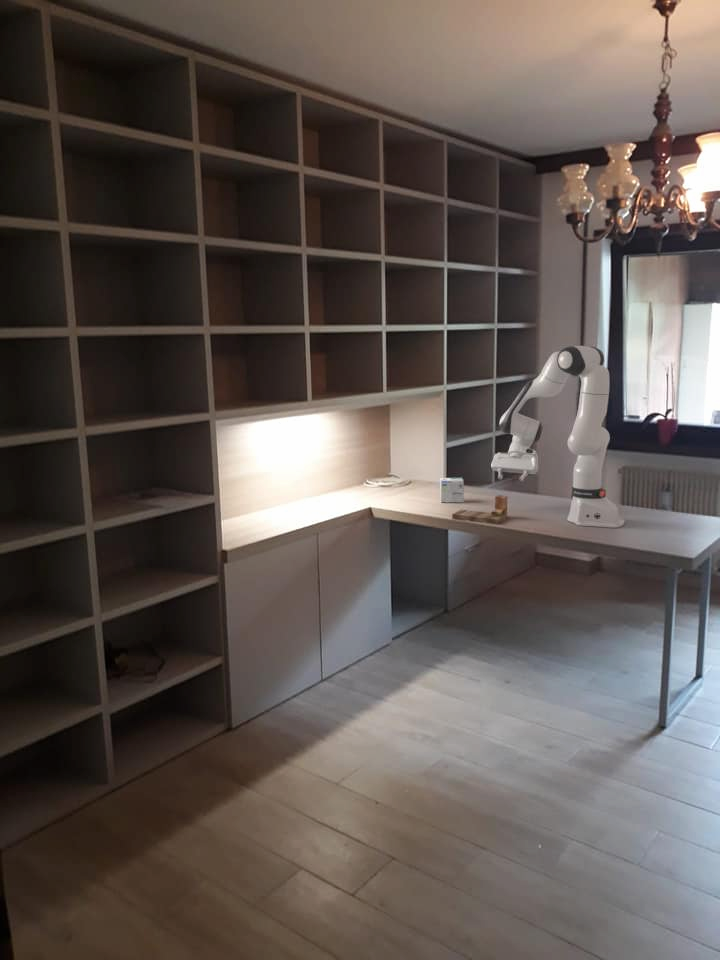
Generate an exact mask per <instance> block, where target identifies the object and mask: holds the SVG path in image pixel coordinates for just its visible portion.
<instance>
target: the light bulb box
mask: <svg viewBox="0 0 720 960" xmlns="http://www.w3.org/2000/svg"><path fill="white" fill-rule="evenodd" d="M464 485H465V483H464V479H463V477H440V478H439V497H440V498H439V501H441V502H440V504H443V503H442V502H463V503H464V490H465V488H464V487H465V486H464Z"/></svg>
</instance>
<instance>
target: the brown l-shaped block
mask: <svg viewBox="0 0 720 960" xmlns="http://www.w3.org/2000/svg"><path fill="white" fill-rule="evenodd" d="M494 498H495V499H494V502H495V503H494V509H493V510H492V511H491V512H490V513H491V515H493V516H499V515H501V514H506V516H508V495H500V494H497V495H496V496H495V497H494Z"/></svg>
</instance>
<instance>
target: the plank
mask: <svg viewBox="0 0 720 960" xmlns="http://www.w3.org/2000/svg"><path fill="white" fill-rule="evenodd" d="M451 519H452V520H458V521H465V520H469V521H468V522H474V521H476V523H482V522H485V523H484V524H491V523H493V524H492V525H499V524H500V522H501V521H502V522H504V521H505V520H506V519H507V517H506V514H501V515H499V516H493V515H491V512H487V511H477V510H468V509H459V510H457V511H455V512H454V513H452V514H451ZM504 519H505V520H504ZM503 520H504V521H503ZM502 522H501V523H502Z"/></svg>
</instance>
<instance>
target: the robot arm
mask: <svg viewBox="0 0 720 960" xmlns="http://www.w3.org/2000/svg"><path fill="white" fill-rule="evenodd" d="M604 363H605V356H604V353H603V351H602V350H601V349H599V348H598V347H595V346H586V345H585V346H584V345H574V346H565V347H564V348H562V349H561V350H560V351H555V352H552V354H551V355H550V356H549V358H548V359H547V361H546V362H545V364H544V366H543V368H542V370H541V371H540V374H539V375H538V376H537V377H536V378H535V379H533V380H528V381H527V383H526V384H525V385H524V386H523V387H522V388H521V390H520V391H519V393H518V394H517V396H516V397H515V399H514V400H513V401H512V403H511V405H510V406H509V407H508V409H506V411H505V412H504V413H503V415H501V417H500V419H499V424H498V426H499V428H500V430H501V431H502V433H503V434H507V435H511V436H512V441H511V443H510V445H509V449H508V451H507V452H500V451H499V452H497V453H496V452H495V453H494V456H493V459H492V461H491V464H490V466H491V469H492V471H493V472H498V476H497V478H498V480H503V477H504V476H503V473H515V474H522V475H519V478H518V480H519V482H524V480H525V478H527V477H528V475H536V474H537V473H538V471H539V463H538V462H539V456H538V453H537V451H536V450H535V449H532V448H531V446H532V445H534V444H536V443H537V442H539V441H540V439H541V435H542V432H543V429H544V428H543V424H542V423H541V421H540V420H536V419H534V418H531V417H529V416H526V415H523V414H521V413H519V411H520V410H521V409H522V407H523V406H524V405H525V403H526V402H527V401H528V400H529V399H533V398H550V397H555V396H556V395H558V394H560V393H561V392H562V390H563V388H564V387H565V385H566V383H567V381H568V379H569V377H570V375H571V376H573V378H576V377H579V378H580V382H581V384H580V390H579V391H580V392H579V400H578V409H577V412H576V417H575V421H574V423H573V427H572V430H571V433H570V434H569V437H568V439H567V447H568V449H569V451H570V452H571V453H572V454H574V455H577V459H576V462H575V464H574V467H573V476H572V477H573V478H572V479H573V480H572V486H571V491H570V499H571V502H570V508H569V513H568V516H567V517H566V518H567V521H568V522H569V523H573V524H575V525H577V526H583V527H584V526H585V527H599V528H614V529H616V528H621V527H622V526H624V525H625V519H624V518H621V517H620V513H619V509H618V506H616V505H615V504H614V503H613V502H612V501H611V500H609V499H608V498H607V497H606V495H607V494H606V493H607V489H606V488H605V489H604V488H602V475H603V473H602V471H603V466H604V461H605V457H606V452H607V448H608V445H609V443H610V439H611V437H610V435H611V434H610V433H609V431H608V430H607V428H605V427H603V426H602V425H603V422H604V419H605V417H606V416H607V412H608V405H609V397H610V395H609V394H610V382H611V381H610V372H609V370H608V369H609V368H607V367H606V366H604Z"/></svg>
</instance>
